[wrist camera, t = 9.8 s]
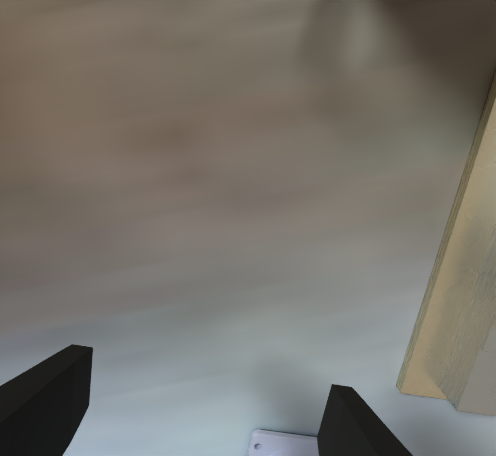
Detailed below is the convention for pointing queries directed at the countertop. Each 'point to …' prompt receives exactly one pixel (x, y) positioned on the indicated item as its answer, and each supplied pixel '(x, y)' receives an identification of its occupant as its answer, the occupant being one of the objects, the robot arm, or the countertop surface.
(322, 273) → the countertop surface
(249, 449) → the robot arm
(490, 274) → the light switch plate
